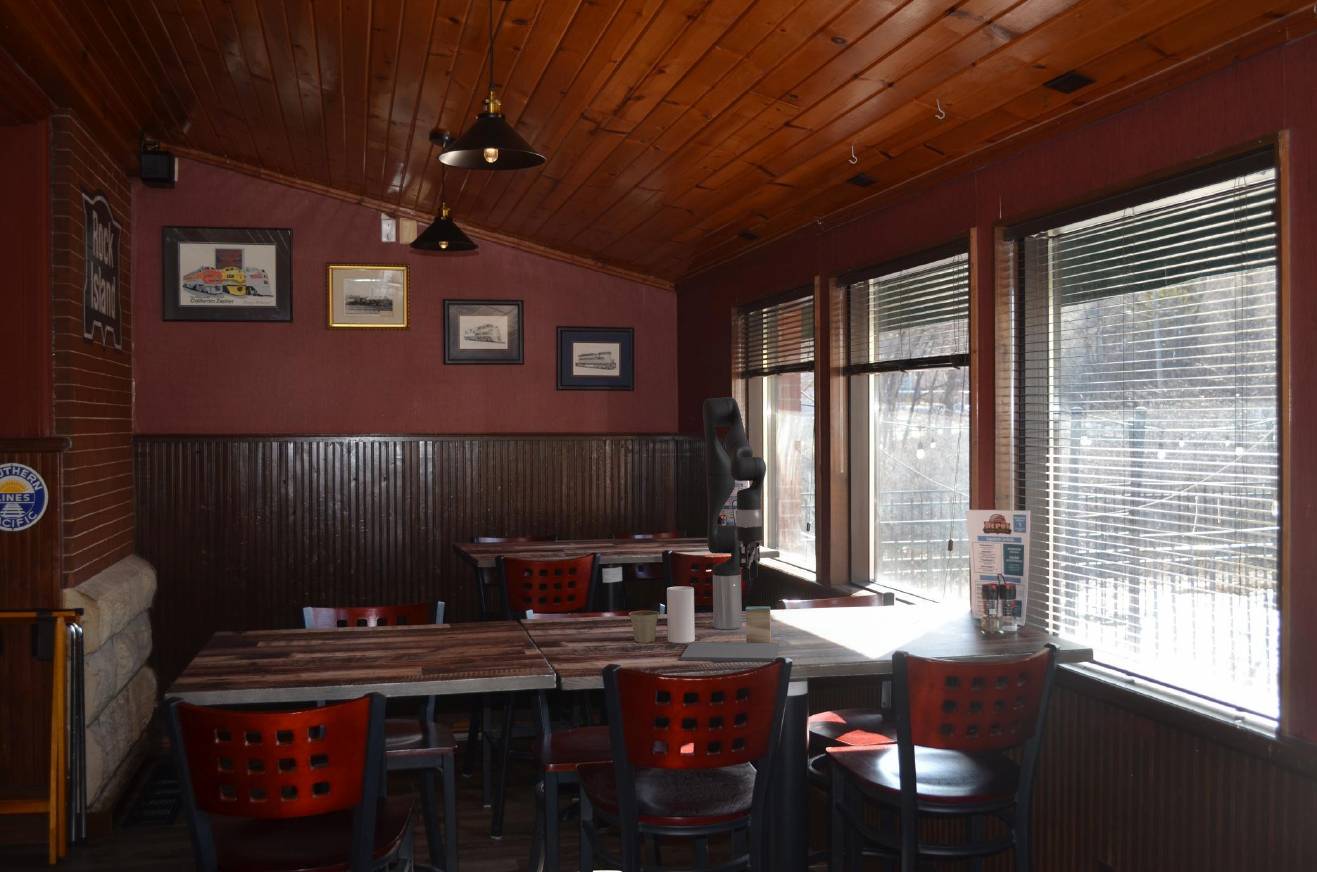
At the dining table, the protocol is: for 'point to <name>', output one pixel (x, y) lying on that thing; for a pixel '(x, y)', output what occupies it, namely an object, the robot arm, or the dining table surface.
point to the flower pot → (644, 625)
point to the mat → (730, 652)
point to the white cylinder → (680, 614)
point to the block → (758, 625)
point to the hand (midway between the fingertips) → (750, 579)
